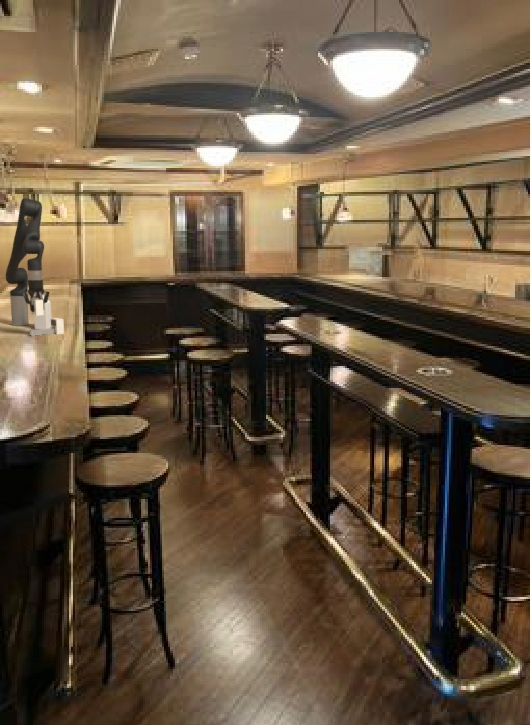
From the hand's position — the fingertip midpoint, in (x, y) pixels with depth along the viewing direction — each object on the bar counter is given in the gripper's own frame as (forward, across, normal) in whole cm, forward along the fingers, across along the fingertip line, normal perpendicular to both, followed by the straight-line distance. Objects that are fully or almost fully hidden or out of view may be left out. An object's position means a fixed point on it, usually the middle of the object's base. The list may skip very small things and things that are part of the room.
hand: (37, 311), depth 330 cm
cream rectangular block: (+2, 0, 0) cm, 2 cm away
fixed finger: (+13, -11, 0) cm, 17 cm away
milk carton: (+13, -12, -20) cm, 27 cm away
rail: (+13, -4, 0) cm, 14 cm away
